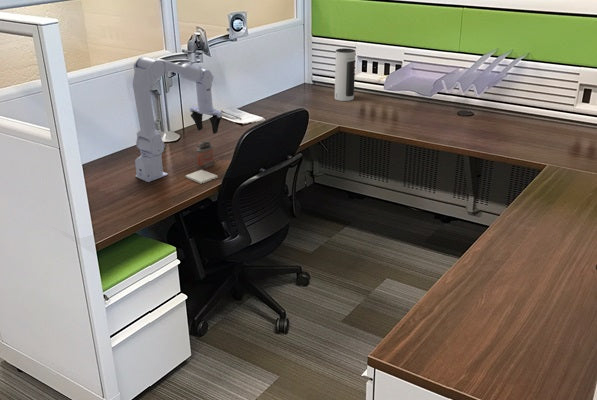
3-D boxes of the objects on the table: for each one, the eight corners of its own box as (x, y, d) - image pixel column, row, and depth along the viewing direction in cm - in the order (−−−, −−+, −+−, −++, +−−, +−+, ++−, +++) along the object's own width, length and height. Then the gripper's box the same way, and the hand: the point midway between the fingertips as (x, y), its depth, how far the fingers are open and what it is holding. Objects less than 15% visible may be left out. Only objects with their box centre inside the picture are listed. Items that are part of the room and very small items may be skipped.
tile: (201, 183, 231) (201, 181, 230) (185, 177, 236) (185, 175, 236) (217, 177, 236) (217, 175, 236) (201, 171, 242) (201, 169, 241)
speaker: (340, 102, 326) (342, 52, 315) (330, 97, 334) (331, 48, 323) (357, 99, 331) (359, 50, 320) (346, 94, 339) (348, 46, 328)
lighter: (210, 161, 251) (208, 138, 247) (216, 163, 249) (214, 139, 245) (195, 167, 245) (193, 143, 241) (201, 169, 243) (199, 145, 239)
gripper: (225, 98, 246) (228, 130, 252) (196, 93, 253) (199, 125, 259) (214, 103, 241) (217, 136, 247) (185, 98, 247) (188, 130, 254)
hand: (207, 131), depth 253 cm, fingers open, 7 cm apart
